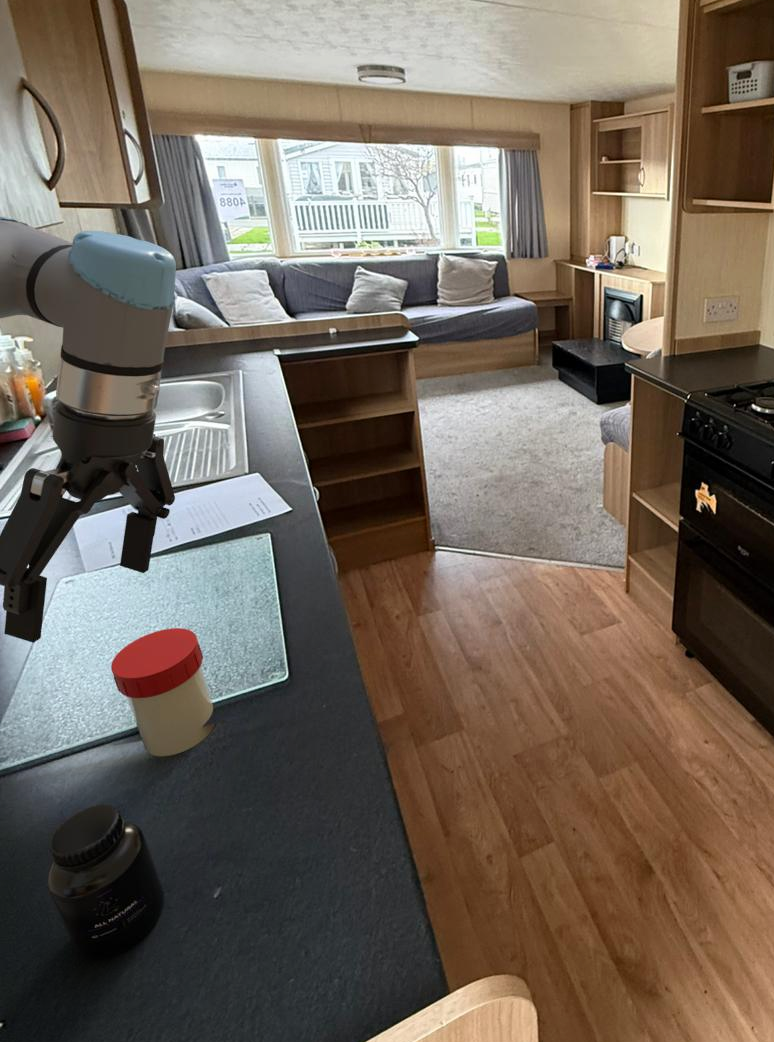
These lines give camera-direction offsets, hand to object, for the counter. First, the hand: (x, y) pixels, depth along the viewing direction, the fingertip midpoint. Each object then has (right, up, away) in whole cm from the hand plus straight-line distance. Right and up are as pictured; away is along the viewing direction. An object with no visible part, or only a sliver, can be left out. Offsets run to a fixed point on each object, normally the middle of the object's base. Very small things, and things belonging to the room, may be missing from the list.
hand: (83, 599), depth 66 cm
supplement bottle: (+9, -28, -6) cm, 30 cm away
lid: (+1, -9, +9) cm, 13 cm away
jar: (+1, -20, +14) cm, 24 cm away
